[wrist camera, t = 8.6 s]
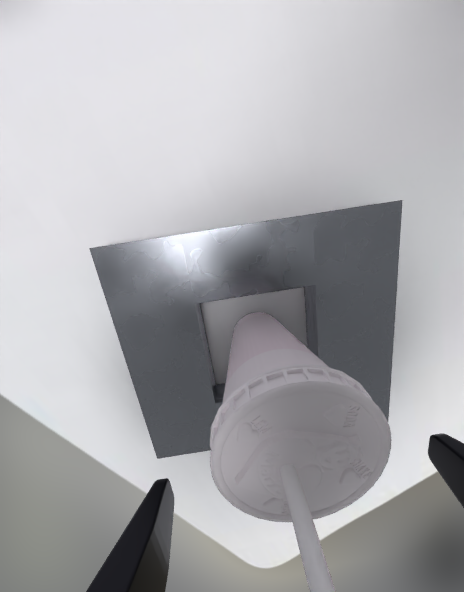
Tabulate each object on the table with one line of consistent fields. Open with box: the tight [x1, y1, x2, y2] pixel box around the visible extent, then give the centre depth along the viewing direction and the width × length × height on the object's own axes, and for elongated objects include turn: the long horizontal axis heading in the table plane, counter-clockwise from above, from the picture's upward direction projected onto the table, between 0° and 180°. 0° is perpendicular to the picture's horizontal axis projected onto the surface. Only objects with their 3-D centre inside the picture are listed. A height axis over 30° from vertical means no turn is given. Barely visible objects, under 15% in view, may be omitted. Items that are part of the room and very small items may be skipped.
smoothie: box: [210, 312, 391, 592], centre depth 10 cm, size 6×6×14 cm
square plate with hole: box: [89, 200, 402, 459], centre depth 16 cm, size 18×16×2 cm
